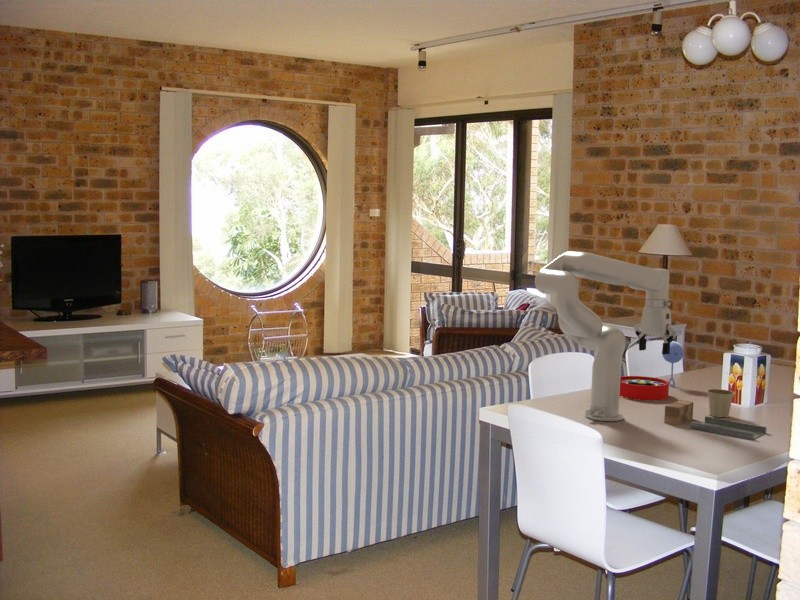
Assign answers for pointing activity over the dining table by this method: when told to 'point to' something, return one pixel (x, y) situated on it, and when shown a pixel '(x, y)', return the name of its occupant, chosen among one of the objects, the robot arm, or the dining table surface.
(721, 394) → the flower pot
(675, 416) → the walnut block
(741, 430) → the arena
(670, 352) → the baby rattle
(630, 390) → the toy clock
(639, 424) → the dining table surface
